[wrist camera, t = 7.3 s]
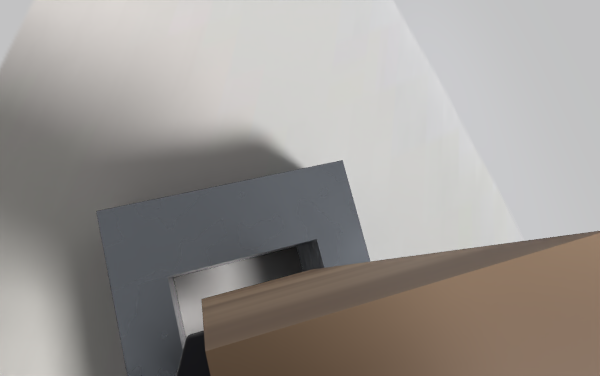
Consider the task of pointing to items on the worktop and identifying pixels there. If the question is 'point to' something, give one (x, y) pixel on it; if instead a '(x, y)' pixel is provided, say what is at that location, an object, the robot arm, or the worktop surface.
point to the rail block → (217, 247)
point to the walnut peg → (420, 316)
